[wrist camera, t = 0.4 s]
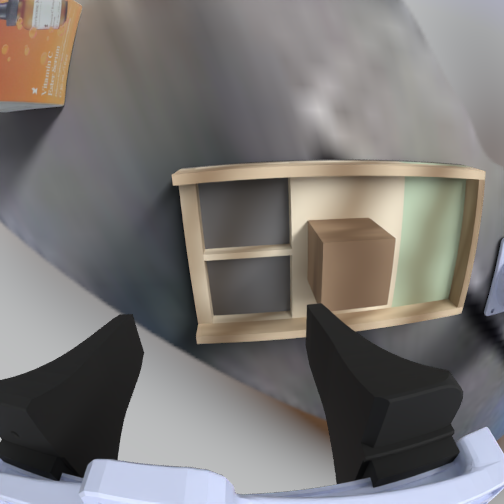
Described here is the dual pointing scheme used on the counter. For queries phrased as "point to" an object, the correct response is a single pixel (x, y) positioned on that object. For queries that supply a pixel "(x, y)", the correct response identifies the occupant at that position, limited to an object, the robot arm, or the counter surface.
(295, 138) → the counter surface
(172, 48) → the counter surface
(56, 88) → the small box
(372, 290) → the walnut block
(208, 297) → the tray
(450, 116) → the counter surface
